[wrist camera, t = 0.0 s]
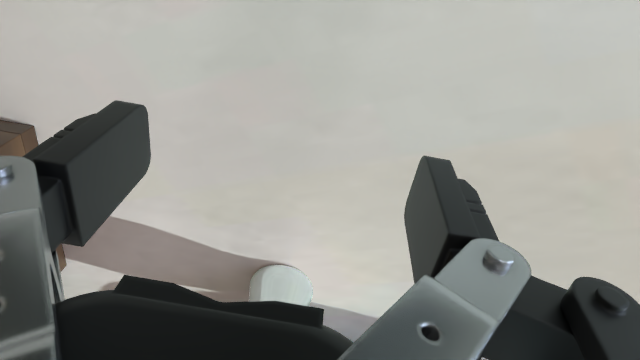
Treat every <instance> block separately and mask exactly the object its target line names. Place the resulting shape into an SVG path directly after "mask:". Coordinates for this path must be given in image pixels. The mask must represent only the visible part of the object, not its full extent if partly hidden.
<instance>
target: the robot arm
mask: <svg viewBox="0 0 640 360" xmlns="http://www.w3.org/2000/svg"><path fill="white" fill-rule="evenodd" d="M150 157H151V152H150V138H149V124H148V113H147V109H146V107H145V106H144V105H140V104H134V103H128V102H123V101H114V102H112V103H111V104H109V105H108V106H107V107H105V108H104V109H102V110H101V111H99V112H98V113H97V114H92V115H89V116H86V117H83V118H80V119H77V120H75V121H74V122H72V123H71V124H69V125H68V126H66V127H65V128H64V130H61V131H59V132H58V133H56V134H55V135H54V137H50V138H49V139H47V140H46V141H44V142H43V143H41V144H40V145H38V146H37V147H36V148H34V149H33V150H31V151H30V152H28V153H27V154H25V155H24V156H22V157H19V156H0V360H481V358H482V357H484V358H487V359H489V360H640V305H639V304H638V303H637V302H636V301H635V300H634V299H633V298H632V297H631V296H630V295H628V294H627V293H625V292H624V291H623V290H621V289H619V288H618V287H616V286H614V285H612V284H610V283H608V282H606V281H603V280H600V279H596V278H592V277H580V278H577V279H576V280H574V282H573V283H572V285H571V286H570V287H569V289H568V290H566V289H563V288H561V287H558V286H556V285H553V284H551V283H548V282H545V281H543V280H540V279H538V278H536V277H534V276H532V275H531V268H530V265H529V263H528V262H527V260H526V259H525V258H524V257H523V256H522V255H521V254H520V253H519V252H517V251H516V250H515V249H513V248H512V247H510V246H508V245H506V244H504V243H502V242H499V240H498V237H497V235H496V233H495V231H494V229H493V226H492V224H491V222H490V220H489V218H488V215H487V214H486V211H485V209H484V207H483V205H481V203H482V202H481V200H480V198H479V196H478V193H477V191H476V190H475V189H474V188H473V187H472V186H471V185H470V184H468V183H467V182H466V181H465V180H462V179H457V176H456V174H455V171H454V169H453V166H452V164H451V162H450V160H445V159H439V158H434V157H428V156H423V157H422V158H421V160H420V163H419V165H418V168H417V171H416V174H415V177H414V180H413V183H412V186H411V189H410V192H409V195H408V199H407V202H406V206H405V214H404V220H405V227H406V233H407V239H408V245H409V252H410V258H411V264H412V270H413V276H414V283H415V284H414V285H413V286H412V287H411V288H410V289H409V290H408V291H407V292H406V293H405V294H404V295H403V296H402V297H401V298H400V299H399V300H398V301H397V302H396V303H395V304H394V305H393V306H392V307H391V308H390V309H389V310H388V311H387V312H385V313H384V314H383V315H382V316H381V317H380V318H379V319H378V320H377V321H376V322H375V323H374V324H373V325H372V326H371V327H370V328H369V329H368V330H367V331H366V332H365V333H364V334H363V335H362V336H361V337H360V338H359V339H358V340H357V341H356V342H355V343H353V342H352V341H351V340H349V339H348V338H346V337H345V336H343V335H342V334H340V333H338V332H337V331H335V330H333V329H331V328H329V327H327V326H324V325H322V324H323V313H324V309H321V308H315V307H309V306H303V305H297V304H291V303H286V302H280V301H254V302H227V303H226V302H218V301H215V300H213V299H210V298H208V297H206V296H203V295H201V294H198V293H196V292H193V291H191V290H189V289H186V288H184V287H181V286H179V285H176V284H174V283H169V282H163V281H157V280H151V279H145V278H139V277H134V276H128V275H124V276H123V278H122V279H121V281H120V282H119V284H118V285H117V287H116V288H115V290H106V291H99V292H92V293H88V294H83V295H79V296H76V297H73V298H69V299H66V300H65V297H64V291H63V285H62V279H61V273H60V267H59V261H58V256H57V252H56V248H57V247H58V246H59V245H60V244H61V243H64V244H70V245H75V246H81V247H83V246H84V245H85V243H86V242H87V241H88V240H89V239H90V238H91V236H92V235H93V234H94V233H95V232H96V231H97V230H98V228H99V227H100V226H101V225H102V224H103V223H104V221H105V220H106V219H107V218H108V217H109V216H110V214H111V213H112V212H113V211H114V210H115V209H116V208H117V206H118V205H119V204H120V203H121V202H122V201H123V199H124V198H125V197H126V196H127V195H128V194H129V193H130V191H131V190H132V189H133V188H134V187H135V186H136V184H137V183H138V182H139V181H140V180H141V179H142V177H143V176H144V175H145V174H146V172H147V170H148V167H149V164H150Z"/></svg>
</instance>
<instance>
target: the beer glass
mask: <svg viewBox="0 0 640 360" xmlns="http://www.w3.org/2000/svg"><path fill="white" fill-rule="evenodd" d="M312 296H313V286H312V283H311V281H310V280H309V278H308V277H307V276H306V275H305V274H304V273H302V272H301V271H299V270H298V269H295V268H293V267H290V266H286V265H270V266H266V267H263V268H261V269H259V270H258V271H257V272H256V273H255V274H254V275H253V276H252V278H251V281H250V287H249V302H254V301H280V302H286V303H291V304H297V305H303V306H309V305H310V302H311V299H312Z"/></svg>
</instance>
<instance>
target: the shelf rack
mask: <svg viewBox="0 0 640 360" xmlns="http://www.w3.org/2000/svg"><path fill="white" fill-rule="evenodd" d="M37 146H38V142H37V137H36V133H35V129H34V126H30V125H24V124H19V123H13V122H7V121H2V120H0V156H19V157H22V156H24V155H25V154H27V153H28V152H30V151H31V150H33V149H34V148H36V147H37ZM56 252H57V256H58V261H59V267H60V272H61V271H62V270H63V269H64V268H65V266H66V261H65V257H64V252H63V248H62V244H60V245H59V246H58V247H57V248H56Z"/></svg>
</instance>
